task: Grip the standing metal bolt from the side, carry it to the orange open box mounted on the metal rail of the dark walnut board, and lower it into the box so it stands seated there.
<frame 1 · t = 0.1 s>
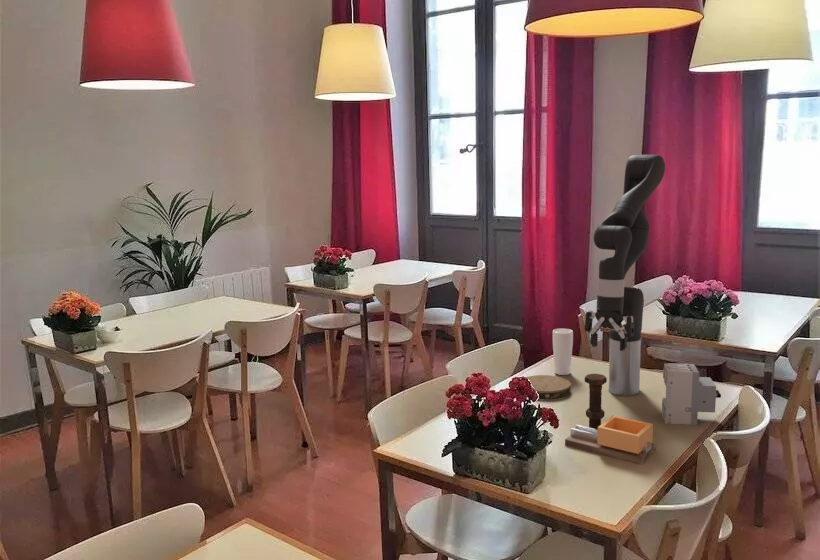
hand: (608, 348, 205), 17 cm above the table, tool pointing down, fingers open, 8 cm apart
bolt: (594, 429, 190), on the table
brown round disc: (545, 392, 221), on the table
orange open box: (625, 434, 175), point 5 cm above the table
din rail: (609, 438, 178), on the rail board, point 2 cm above the table
rail board: (609, 447, 178), on the table
circuit breaker: (690, 420, 195), on the table
drinking glass: (562, 373, 238), on the table
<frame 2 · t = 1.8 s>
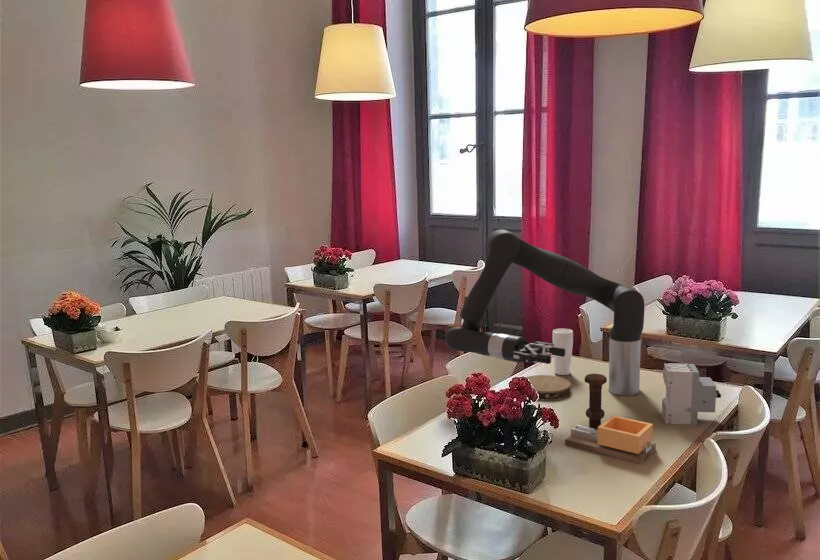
hand: (557, 356, 194), 19 cm above the table, tool horizontal, fingers open, 8 cm apart
nothing on the table moved.
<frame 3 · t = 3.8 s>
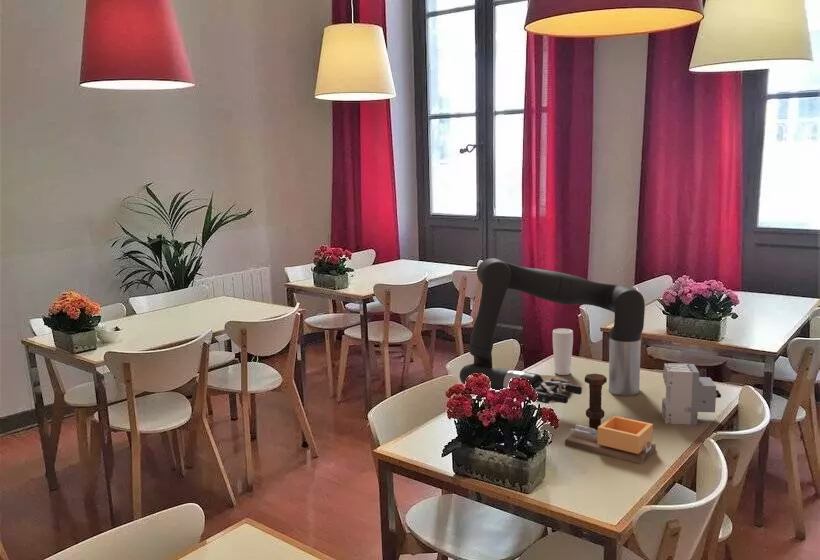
hand: (574, 395, 192), 8 cm above the table, tool horizontal, fingers open, 8 cm apart
nothing on the table moved.
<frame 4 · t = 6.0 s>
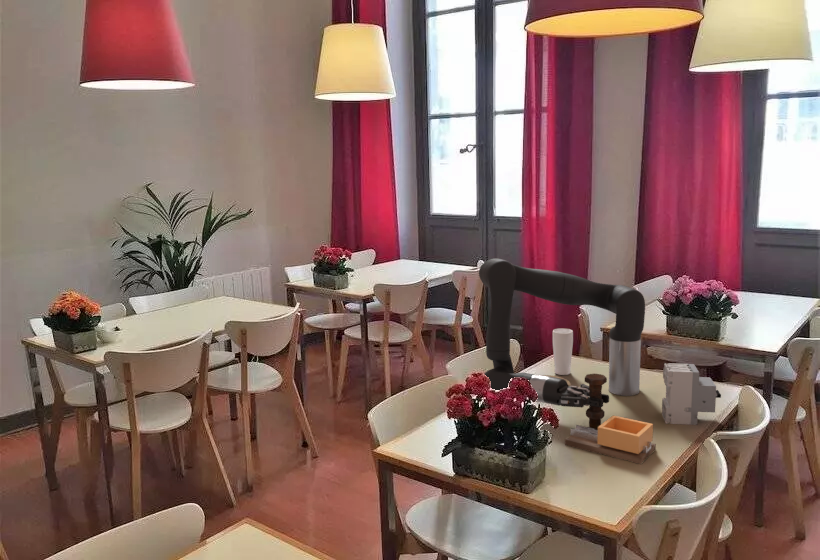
hand: (605, 401, 187), 9 cm above the table, tool horizontal, fingers closed on bolt, 3 cm apart
bolt: (594, 429, 190), on the table, touching gripper
everything else where it was.
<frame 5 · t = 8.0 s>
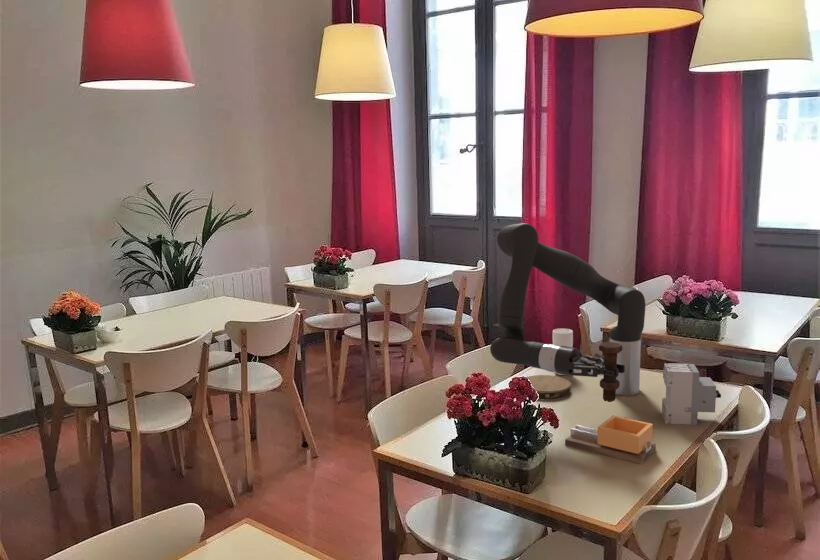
hand: (620, 370, 177), 20 cm above the table, tool horizontal, fingers closed on bolt, 3 cm apart
bolt: (609, 401, 180), point 11 cm above the table, touching gripper
everything else where it was.
when the fingers open (13 cm above the table, at t = 9.9 s): bolt drops 1 cm, resting on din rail, orange open box.
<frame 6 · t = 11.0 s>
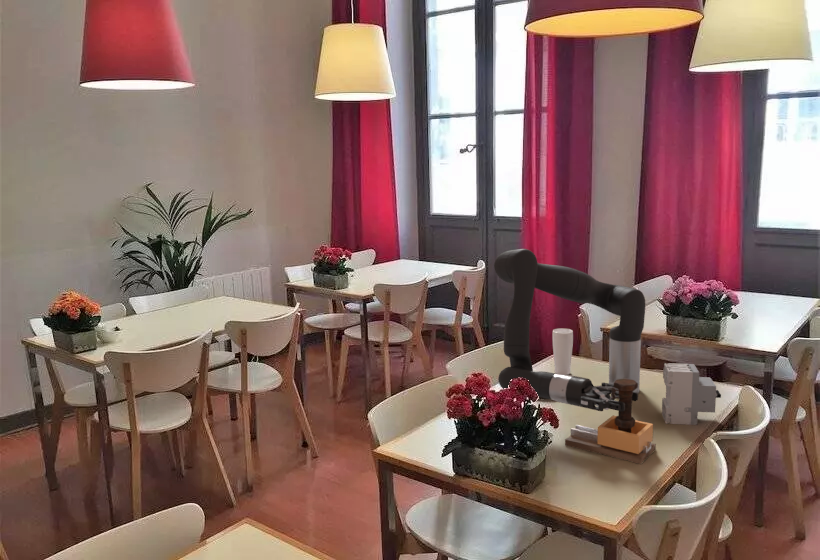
hand: (631, 401, 173), 13 cm above the table, tool horizontal, fingers open, 8 cm apart
bolt: (624, 439, 175), point 3 cm above the table, touching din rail, orange open box
everything else where it was.
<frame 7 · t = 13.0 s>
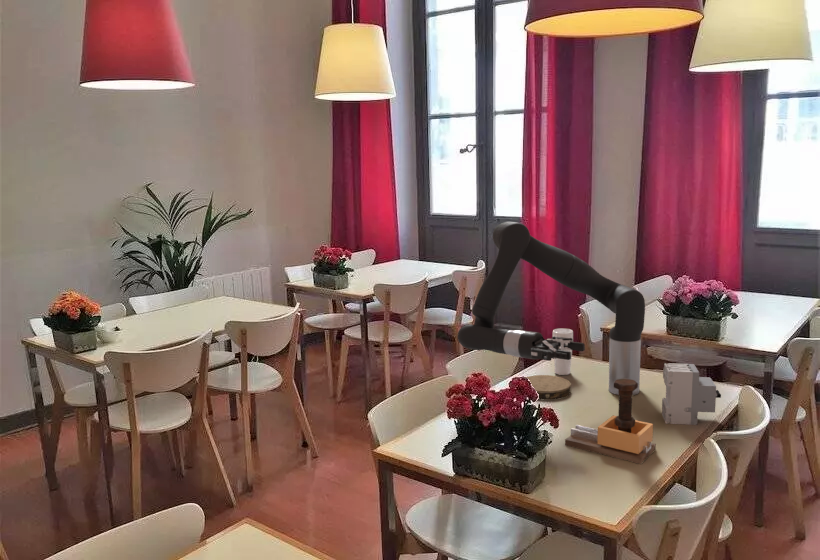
hand: (577, 351, 186), 22 cm above the table, tool horizontal, fingers open, 8 cm apart
nothing on the table moved.
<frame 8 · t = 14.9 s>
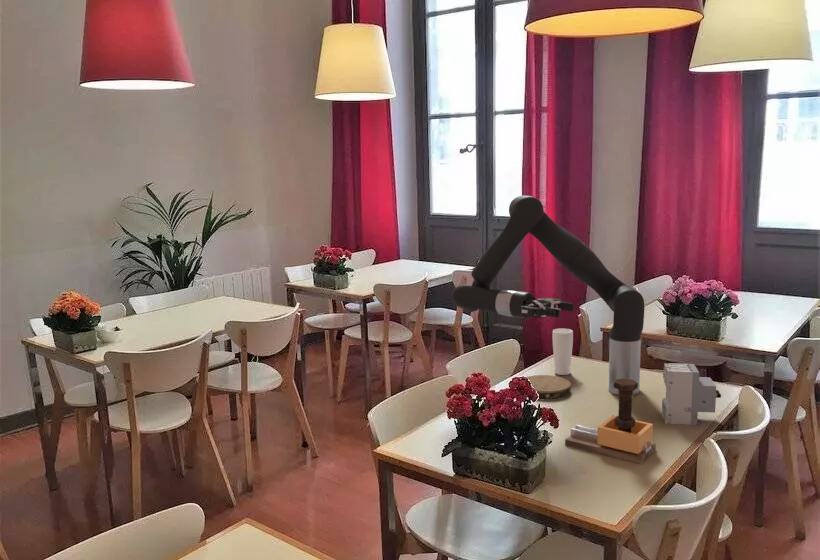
hand: (566, 310, 191), 32 cm above the table, tool horizontal, fingers open, 8 cm apart
nothing on the table moved.
at the end: bolt 0.2 cm off-centre on the orange open box, point 3.1 cm above the orange open box's base; bolt tilted 0°; the gripper is holding nothing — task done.
